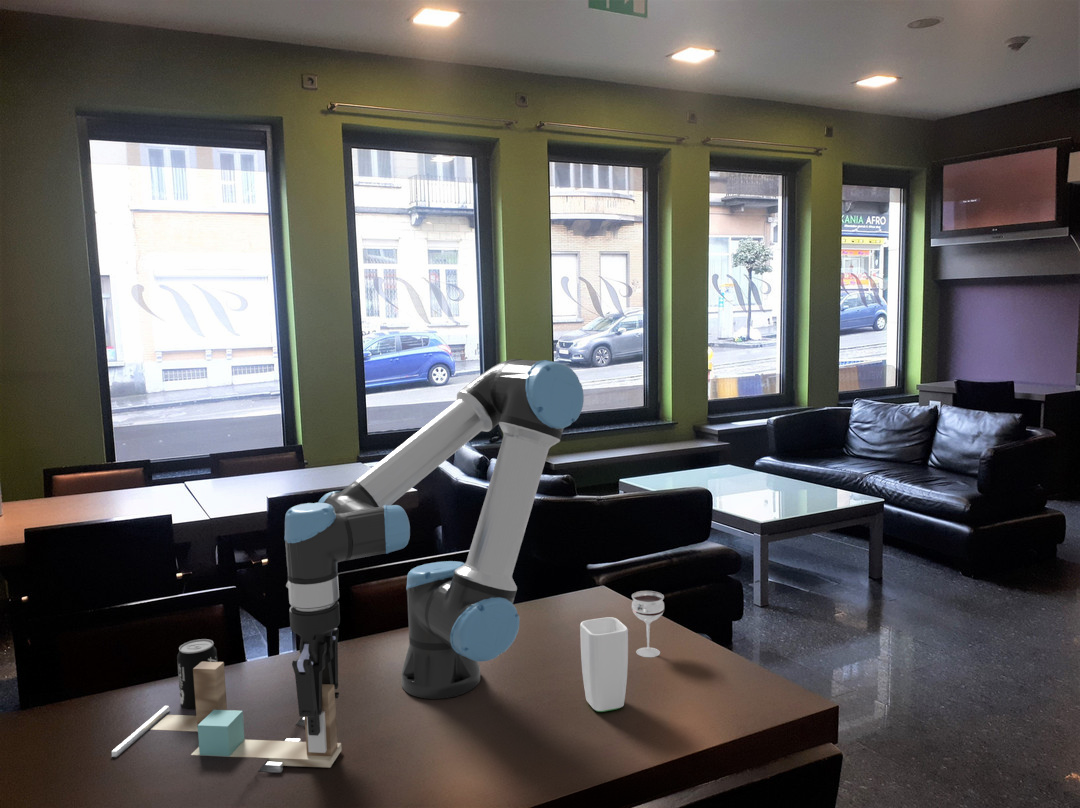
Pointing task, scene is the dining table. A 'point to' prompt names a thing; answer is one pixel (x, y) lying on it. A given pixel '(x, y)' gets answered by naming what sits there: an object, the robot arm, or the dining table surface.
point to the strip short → (200, 698)
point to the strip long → (293, 750)
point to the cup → (604, 662)
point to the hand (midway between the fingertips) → (322, 744)
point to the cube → (221, 732)
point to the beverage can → (187, 661)
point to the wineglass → (648, 615)
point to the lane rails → (147, 725)
